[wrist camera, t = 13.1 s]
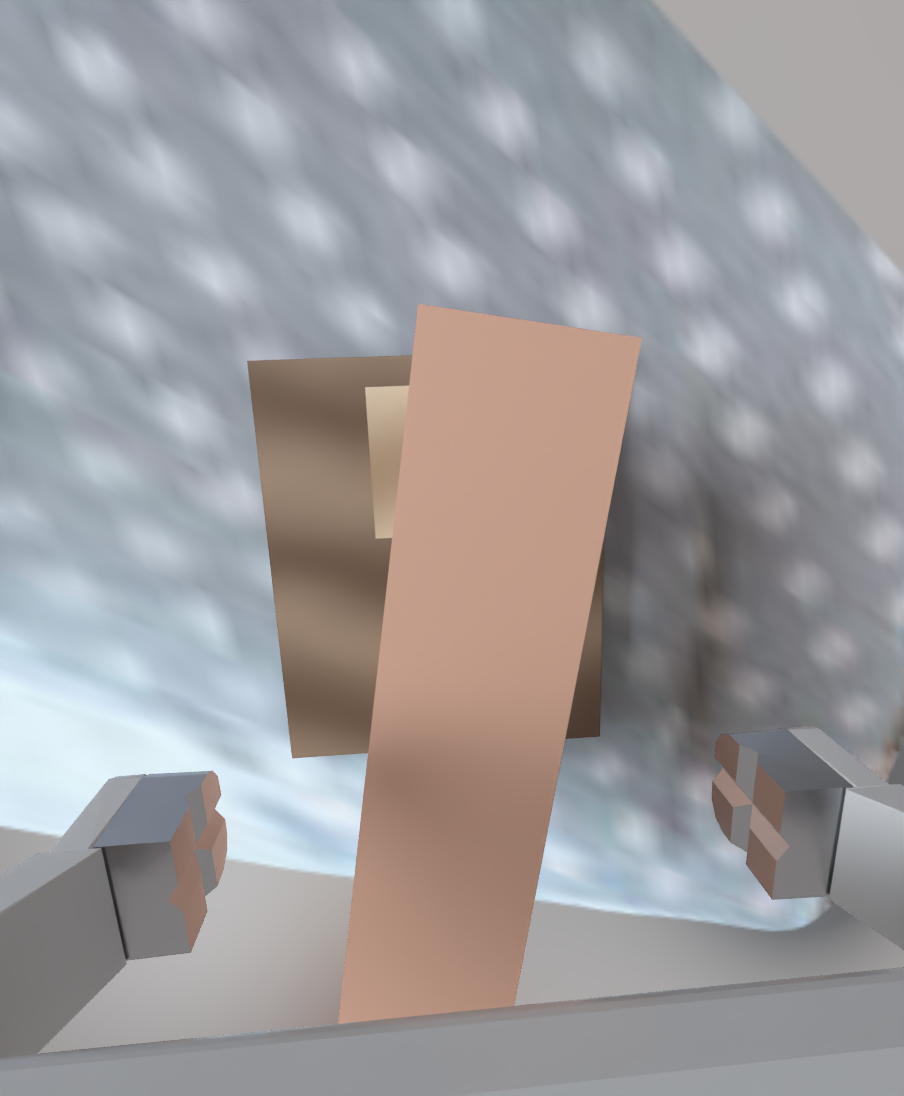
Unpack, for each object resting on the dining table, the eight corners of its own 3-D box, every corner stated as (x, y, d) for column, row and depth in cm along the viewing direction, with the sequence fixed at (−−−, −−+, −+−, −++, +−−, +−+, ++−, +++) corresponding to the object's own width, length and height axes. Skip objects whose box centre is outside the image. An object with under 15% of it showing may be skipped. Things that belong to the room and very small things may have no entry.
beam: (416, 340, 15) (418, 303, 10) (568, 362, 15) (641, 338, 10) (356, 872, 18) (336, 1038, 13) (482, 880, 19) (506, 1044, 14)
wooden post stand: (257, 364, 24) (157, 331, 14) (596, 352, 24) (707, 314, 15) (298, 740, 27) (240, 905, 18) (590, 719, 28) (676, 867, 19)
